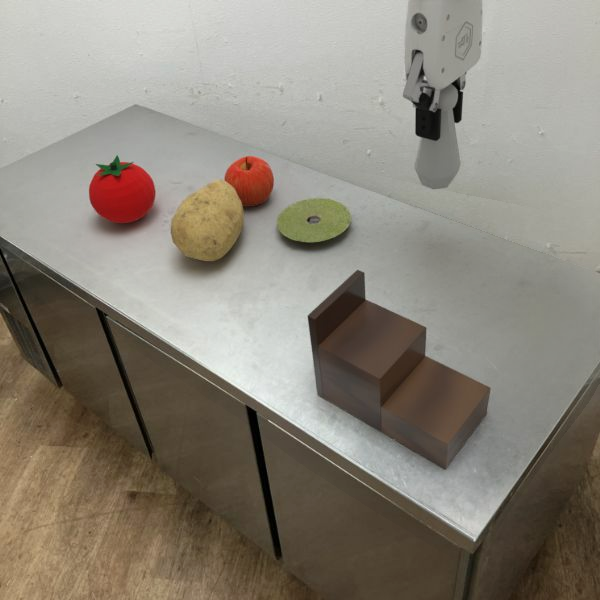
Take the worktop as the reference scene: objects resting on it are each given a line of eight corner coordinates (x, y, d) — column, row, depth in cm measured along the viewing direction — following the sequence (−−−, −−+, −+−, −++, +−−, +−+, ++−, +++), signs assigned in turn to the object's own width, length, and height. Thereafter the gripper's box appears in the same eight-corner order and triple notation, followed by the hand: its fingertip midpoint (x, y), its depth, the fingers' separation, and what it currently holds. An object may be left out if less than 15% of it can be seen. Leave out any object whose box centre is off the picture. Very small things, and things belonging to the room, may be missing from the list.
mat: (363, 216, 100) (363, 206, 99) (331, 259, 94) (330, 248, 92) (300, 202, 105) (299, 191, 104) (265, 241, 98) (263, 231, 97)
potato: (160, 262, 97) (144, 209, 91) (224, 212, 105) (213, 161, 99) (209, 284, 92) (195, 231, 86) (272, 231, 100) (264, 178, 94)
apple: (276, 184, 110) (270, 141, 104) (276, 211, 104) (270, 168, 98) (230, 188, 110) (221, 146, 105) (227, 216, 104) (218, 173, 99)
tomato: (152, 191, 112) (136, 139, 105) (169, 221, 105) (154, 168, 98) (92, 211, 109) (73, 159, 102) (106, 243, 102) (86, 189, 95)
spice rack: (486, 413, 71) (499, 331, 63) (445, 469, 67) (453, 389, 58) (361, 349, 80) (357, 269, 71) (317, 395, 76) (307, 315, 67)
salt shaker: (466, 174, 86) (472, 80, 77) (448, 197, 82) (453, 100, 74) (425, 166, 89) (427, 73, 80) (406, 187, 85) (407, 93, 77)
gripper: (432, 0, 62) (428, 167, 74) (514, -50, 71) (498, 107, 83) (368, -9, 66) (374, 151, 78) (453, -55, 75) (446, 95, 87)
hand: (438, 127), depth 80 cm, fingers closed on salt shaker, 4 cm apart
